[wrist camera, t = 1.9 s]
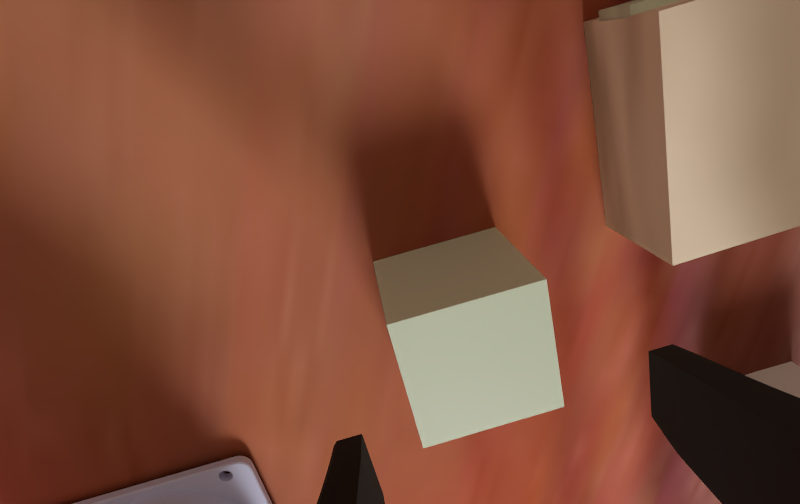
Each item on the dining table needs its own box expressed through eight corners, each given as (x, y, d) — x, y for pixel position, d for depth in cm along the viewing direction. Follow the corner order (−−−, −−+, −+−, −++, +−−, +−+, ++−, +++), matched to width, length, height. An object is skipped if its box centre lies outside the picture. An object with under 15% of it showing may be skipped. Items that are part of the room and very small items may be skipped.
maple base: (602, 223, 18) (672, 265, 14) (578, 14, 15) (657, -1, 12) (785, 166, 18) (900, 194, 15) (795, -52, 16) (941, -86, 12)
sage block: (402, 363, 19) (423, 448, 15) (372, 261, 17) (386, 325, 13) (513, 331, 19) (564, 406, 15) (494, 226, 17) (546, 278, 13)
